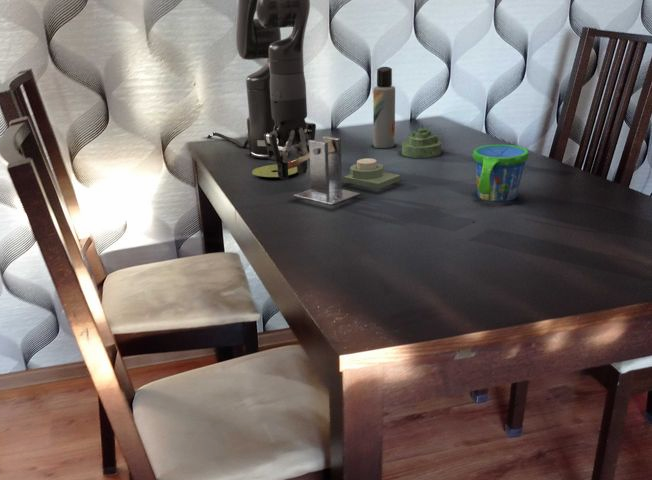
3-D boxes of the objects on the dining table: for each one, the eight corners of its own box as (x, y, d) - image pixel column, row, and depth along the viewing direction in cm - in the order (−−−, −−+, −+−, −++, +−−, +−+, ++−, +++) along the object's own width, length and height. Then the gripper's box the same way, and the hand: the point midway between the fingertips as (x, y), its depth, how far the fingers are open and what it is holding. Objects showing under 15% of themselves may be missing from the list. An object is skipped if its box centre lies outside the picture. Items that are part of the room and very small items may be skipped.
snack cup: (502, 215, 136) (507, 162, 131) (454, 206, 142) (457, 155, 137) (537, 194, 146) (542, 145, 141) (490, 187, 152) (494, 139, 147)
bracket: (294, 201, 151) (290, 140, 144) (322, 191, 156) (320, 132, 150) (332, 210, 144) (330, 147, 138) (360, 199, 149) (359, 138, 143)
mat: (244, 177, 169) (243, 169, 168) (285, 169, 174) (284, 161, 173) (265, 187, 161) (265, 179, 160) (308, 178, 165) (307, 170, 164)
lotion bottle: (394, 143, 192) (395, 65, 182) (394, 148, 187) (395, 68, 177) (373, 143, 193) (373, 66, 183) (373, 148, 188) (373, 69, 178)
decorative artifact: (426, 146, 187) (394, 152, 184) (427, 119, 184) (394, 124, 180) (448, 154, 179) (415, 160, 175) (450, 125, 175) (416, 131, 172)
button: (352, 169, 157) (352, 161, 156) (365, 165, 160) (365, 157, 159) (368, 172, 154) (368, 164, 154) (380, 167, 157) (380, 160, 156)
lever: (284, 173, 152) (280, 162, 152) (300, 167, 155) (296, 157, 155) (323, 154, 142) (319, 143, 142) (339, 149, 145) (335, 138, 145)
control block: (343, 186, 159) (342, 168, 157) (365, 178, 164) (365, 160, 162) (378, 193, 152) (378, 175, 150) (400, 184, 157) (400, 167, 155)
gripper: (299, 88, 153) (303, 166, 161) (250, 99, 144) (257, 181, 152) (324, 91, 148) (327, 171, 156) (276, 102, 139) (281, 186, 148)
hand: (292, 175), depth 154 cm, fingers closed on lever, 5 cm apart
